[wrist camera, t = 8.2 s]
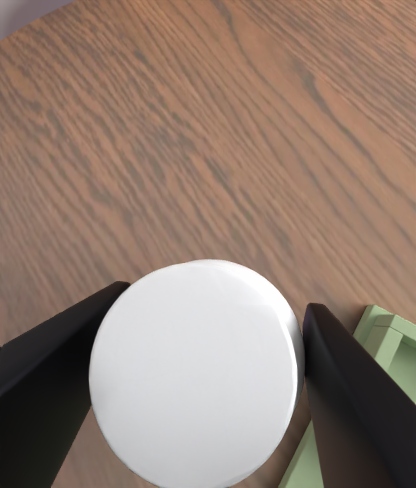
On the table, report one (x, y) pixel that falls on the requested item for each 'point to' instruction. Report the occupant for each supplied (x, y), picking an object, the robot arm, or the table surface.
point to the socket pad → (388, 357)
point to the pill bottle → (197, 374)
